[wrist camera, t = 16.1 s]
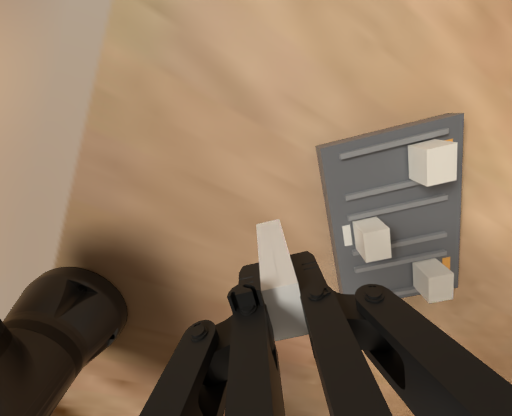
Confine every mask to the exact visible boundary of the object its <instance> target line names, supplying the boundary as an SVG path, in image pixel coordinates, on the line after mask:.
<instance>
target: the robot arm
mask: <svg viewBox="0 0 512 416" xmlns="http://www.w3.org/2000/svg"><path fill="white" fill-rule="evenodd" d="M256 227H257V241H258V255H259V263H255V264H251V265H246V266H243V267H242V269H241V271H240V272H239V285H237V286H235V287H234V288H232V289H231V290H230V292H229V293H228V296H227V298H228V300H229V303H230V306H231V309H232V312H233V315H232V316H231V317H229V318H228V319H227V320H225V321H223V322H221V323H219V324H217V325H215V324H214V323H213V322H212V321H209V320H203V321H199V322H197V323H195V324H193V325H192V326H190V327H189V328H188V329H187V330H186V332H185V333H184V335H183V337H182V338H181V340H180V342H179V344H178V346H177V348H176V349H175V351H174V353H173V355H172V357H171V359H170V360H169V362H168V364H167V366H166V368H165V370H164V371H163V373H162V375H161V377H160V379H159V380H158V382H157V384H156V386H155V388H154V390H153V391H152V393H151V395H150V397H149V399H148V401H147V402H146V404H145V406H144V408H143V410H142V412H141V413H140V415H139V416H223V414H224V410H225V416H285V410H284V402H283V394H282V386H281V378H280V370H279V362H278V354H277V349H276V346H275V341H279V340H283V339H288V338H293V337H298V336H303V335H308V334H309V337H310V341H311V346H312V350H313V355H314V358H315V361H316V364H317V368H318V372H319V375H320V379H321V383H322V387H323V390H324V394H325V398H326V401H327V405H328V409H329V413H330V416H392V414H391V412H390V409H389V407H388V405H387V403H386V401H385V399H384V397H383V395H382V393H381V390H380V388H379V386H378V384H377V382H376V380H375V378H374V376H373V374H372V372H371V369H370V367H369V365H368V363H367V361H366V359H365V357H364V355H363V353H362V351H361V350H363V351H364V353H365V354H366V355H367V357H368V358H369V359H370V360H371V362H372V363H373V364H374V365H375V367H376V368H377V369H378V370H379V372H380V373H381V374H382V375H383V377H384V378H385V379H386V380H387V382H388V383H389V384H390V385H391V387H392V388H393V389H394V390H395V391H396V393H397V394H398V395H399V396H400V398H401V399H402V400H403V401H404V403H405V404H406V405H407V406H408V408H409V409H410V410H411V411H412V413H413V414H414V415H415V416H512V385H511V384H510V383H509V382H508V381H506V380H505V379H504V378H502V377H501V376H500V375H499V374H497V373H496V372H495V371H493V370H492V369H491V368H490V367H488V366H487V365H486V364H484V363H483V362H482V361H481V360H479V359H478V358H477V357H475V356H474V355H473V354H472V353H470V352H469V351H468V350H466V349H465V348H464V347H463V346H461V345H460V344H459V343H457V342H456V341H455V340H454V339H452V338H451V337H450V336H448V335H447V334H446V333H445V332H443V331H442V330H441V329H439V328H438V327H437V326H436V325H434V324H433V323H432V322H430V321H429V320H428V319H427V318H425V317H424V316H423V315H421V314H420V313H419V312H418V311H416V310H415V309H414V308H412V307H411V306H410V305H409V304H407V303H406V302H405V301H403V300H402V299H401V298H400V297H398V296H397V295H396V294H394V293H393V292H392V291H391V290H389V289H388V288H386V287H384V286H382V285H378V284H366V285H362V286H361V287H359V288H358V289H357V290H356V292H355V294H341V293H337V292H335V291H333V290H332V289H331V288H330V287H329V286H328V285H327V283H326V281H325V279H324V277H323V275H322V272H321V270H320V268H319V266H318V264H317V262H316V260H315V257H314V255H312V254H311V253H309V252H308V251H305V252H301V253H297V254H292V255H290V254H289V251H288V247H287V244H286V241H285V237H284V234H283V230H282V227H281V224H280V220H279V219H277V220H273V221H269V222H264V223H260V224H256ZM126 320H127V308H126V304H125V301H124V299H123V297H122V296H121V294H120V293H119V291H118V290H117V289H116V288H115V287H114V286H113V285H112V284H111V283H110V282H108V281H107V280H106V279H104V278H103V277H101V276H99V275H97V274H95V273H93V272H90V271H88V270H84V269H80V268H74V267H61V268H55V269H52V270H49V271H47V272H45V273H44V274H42V275H41V276H39V277H38V278H37V279H35V280H34V281H33V282H32V283H30V284H29V285H28V286H27V287H26V288H25V290H24V291H23V293H22V294H21V296H20V297H19V299H18V300H17V302H16V303H15V304H14V306H13V307H12V309H11V310H10V312H9V313H8V315H7V316H6V318H5V319H4V321H3V322H2V321H1V319H0V416H50V415H51V414H52V412H53V411H54V409H55V408H56V406H57V405H58V403H59V402H60V400H61V399H62V397H63V396H64V395H65V393H66V392H67V390H68V389H69V387H70V386H71V384H72V383H73V381H74V379H75V378H76V377H77V375H78V374H79V372H80V371H81V370H82V368H83V367H85V366H86V365H87V364H88V363H89V362H90V361H92V360H93V359H94V358H95V357H96V356H98V355H99V354H100V353H101V352H102V351H103V350H105V349H106V348H107V347H108V346H109V345H111V344H112V343H113V342H114V341H115V339H116V338H117V337H118V335H119V334H120V332H121V330H122V329H123V327H124V325H125V323H126ZM274 338H275V341H274Z"/></svg>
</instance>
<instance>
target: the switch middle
mask: <svg viewBox="0 0 512 416" xmlns="http://www.w3.org/2000/svg"><path fill="white" fill-rule="evenodd" d="M353 230H354V238H355V246H356V249H357V251H358V252H359V254H360V255H361V256H362V258H363V259H364V260H365V262H366V263H368V262H373V261H378V260H383V259H388V258H392V256H391V242H390V228H389V227H388V226H387V225H385V224H384V223H383V222H382V221H381V220H380V219H379V218H377V217H371V218H366V219H362V220H357V221H353Z"/></svg>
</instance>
